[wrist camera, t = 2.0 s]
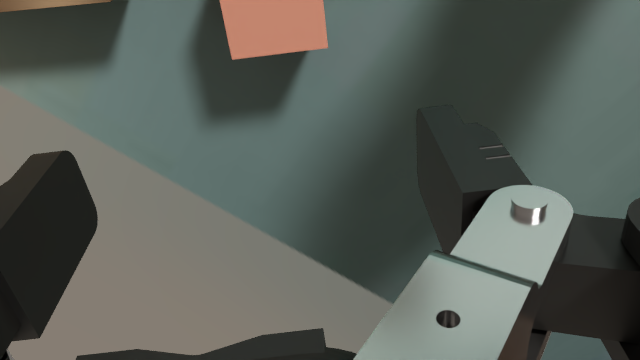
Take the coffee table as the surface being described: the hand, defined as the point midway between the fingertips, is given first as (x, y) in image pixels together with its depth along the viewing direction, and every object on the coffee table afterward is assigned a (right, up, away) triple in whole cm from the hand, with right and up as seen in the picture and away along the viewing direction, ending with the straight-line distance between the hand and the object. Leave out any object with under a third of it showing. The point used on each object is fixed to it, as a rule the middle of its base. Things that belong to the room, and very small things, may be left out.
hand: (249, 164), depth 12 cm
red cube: (-1, +11, +18) cm, 22 cm away
